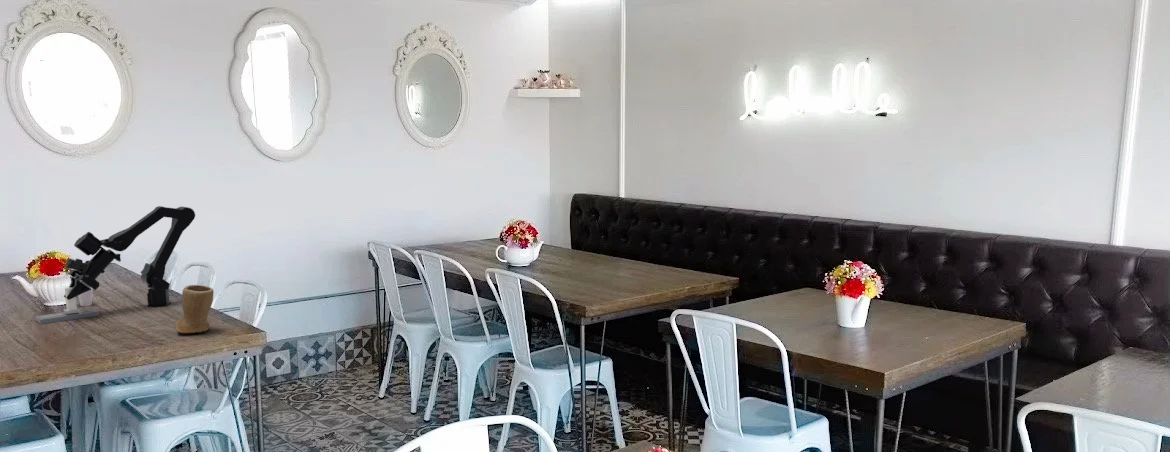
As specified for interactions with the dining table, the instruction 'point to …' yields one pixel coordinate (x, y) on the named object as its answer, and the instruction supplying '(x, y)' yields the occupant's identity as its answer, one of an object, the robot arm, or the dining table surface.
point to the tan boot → (195, 309)
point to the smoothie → (86, 298)
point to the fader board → (66, 316)
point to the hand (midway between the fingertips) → (66, 298)
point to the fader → (70, 303)
